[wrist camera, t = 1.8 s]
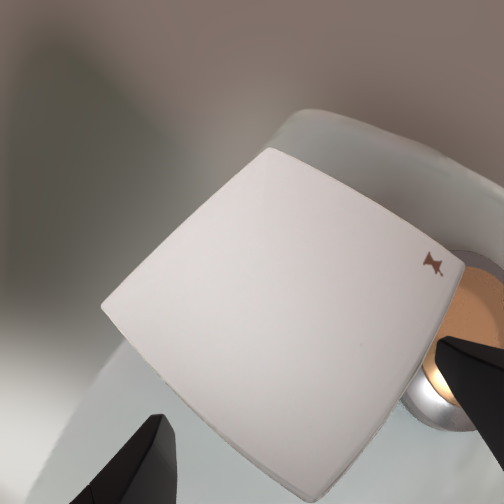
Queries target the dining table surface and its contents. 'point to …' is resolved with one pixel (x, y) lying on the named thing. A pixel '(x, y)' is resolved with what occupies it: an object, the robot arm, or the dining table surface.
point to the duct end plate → (464, 327)
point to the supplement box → (289, 317)
